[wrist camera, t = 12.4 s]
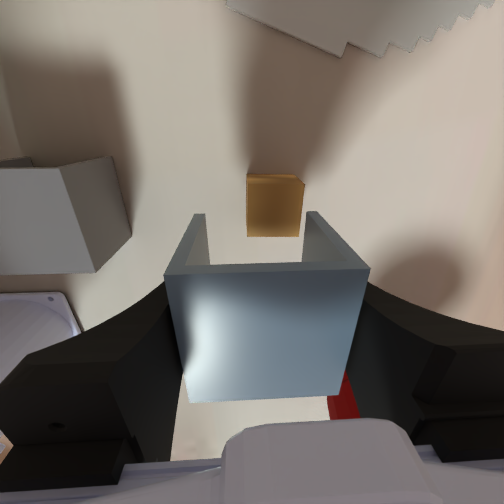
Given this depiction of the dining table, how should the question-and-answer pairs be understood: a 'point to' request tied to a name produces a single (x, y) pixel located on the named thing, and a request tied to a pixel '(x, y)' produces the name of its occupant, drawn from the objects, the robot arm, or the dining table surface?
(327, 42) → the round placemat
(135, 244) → the dining table surface
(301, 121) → the dining table surface
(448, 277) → the dining table surface
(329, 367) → the cover
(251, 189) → the cube
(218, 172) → the dining table surface
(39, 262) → the cover
